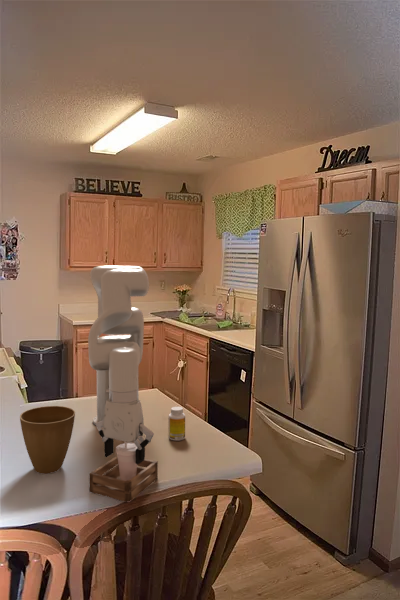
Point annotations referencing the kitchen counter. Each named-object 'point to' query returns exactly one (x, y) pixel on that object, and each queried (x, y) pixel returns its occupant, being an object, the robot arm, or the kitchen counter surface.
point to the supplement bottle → (176, 424)
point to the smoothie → (127, 460)
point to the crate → (118, 488)
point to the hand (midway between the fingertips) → (124, 458)
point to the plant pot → (47, 436)
